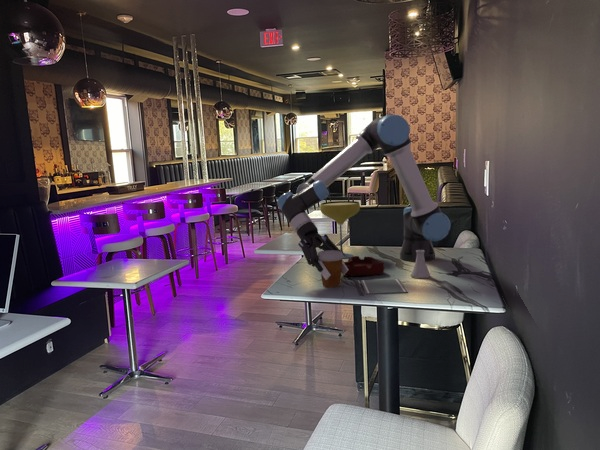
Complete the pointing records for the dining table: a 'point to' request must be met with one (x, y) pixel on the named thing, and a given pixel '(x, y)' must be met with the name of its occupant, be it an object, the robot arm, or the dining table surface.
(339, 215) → the cocktail glass
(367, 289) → the mat
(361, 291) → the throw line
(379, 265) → the ashtray
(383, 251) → the dining table surface
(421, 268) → the flask
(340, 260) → the disposable coffee cup
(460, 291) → the dining table surface
